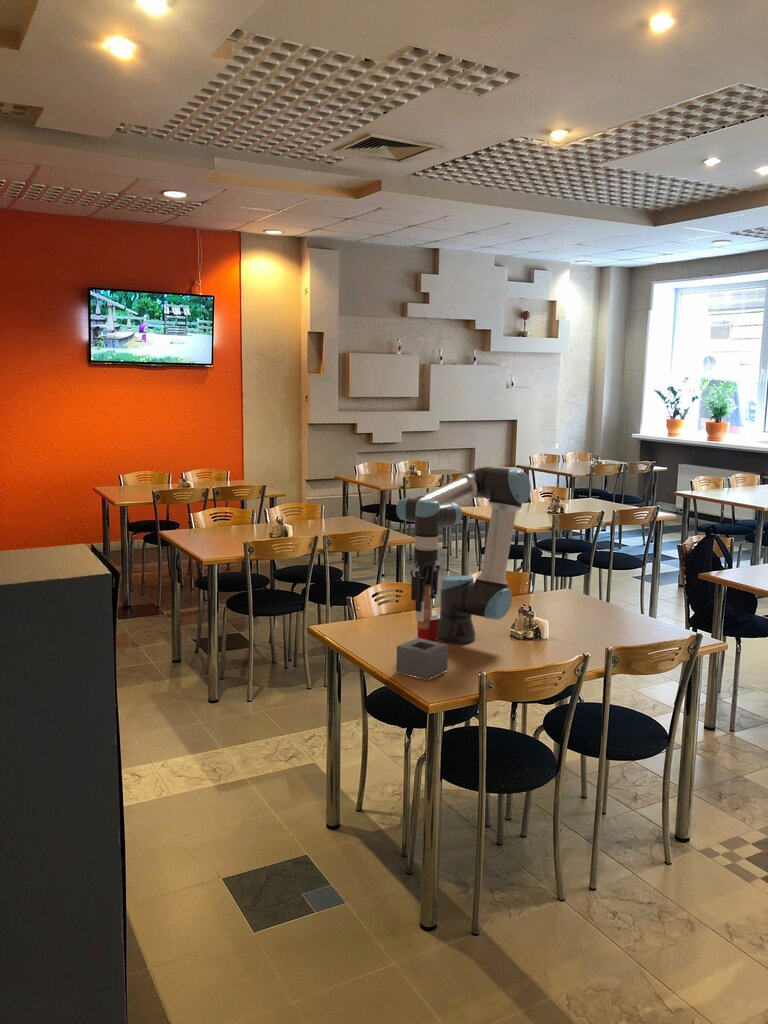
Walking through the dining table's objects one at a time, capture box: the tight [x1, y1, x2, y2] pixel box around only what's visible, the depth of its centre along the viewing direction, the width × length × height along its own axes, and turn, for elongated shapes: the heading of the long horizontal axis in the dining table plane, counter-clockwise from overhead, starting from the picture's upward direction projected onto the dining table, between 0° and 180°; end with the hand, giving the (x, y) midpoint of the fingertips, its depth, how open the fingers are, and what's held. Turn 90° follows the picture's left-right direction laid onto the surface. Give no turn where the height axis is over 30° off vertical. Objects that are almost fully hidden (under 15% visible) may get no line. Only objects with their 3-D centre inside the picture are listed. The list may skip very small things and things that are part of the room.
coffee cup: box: [417, 609, 440, 642], centre depth 297 cm, size 8×8×15 cm
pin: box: [416, 584, 431, 629], centre depth 276 cm, size 4×4×14 cm
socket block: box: [395, 637, 449, 681], centre depth 279 cm, size 12×12×9 cm
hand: (423, 619), depth 277 cm, fingers closed on pin, 4 cm apart
